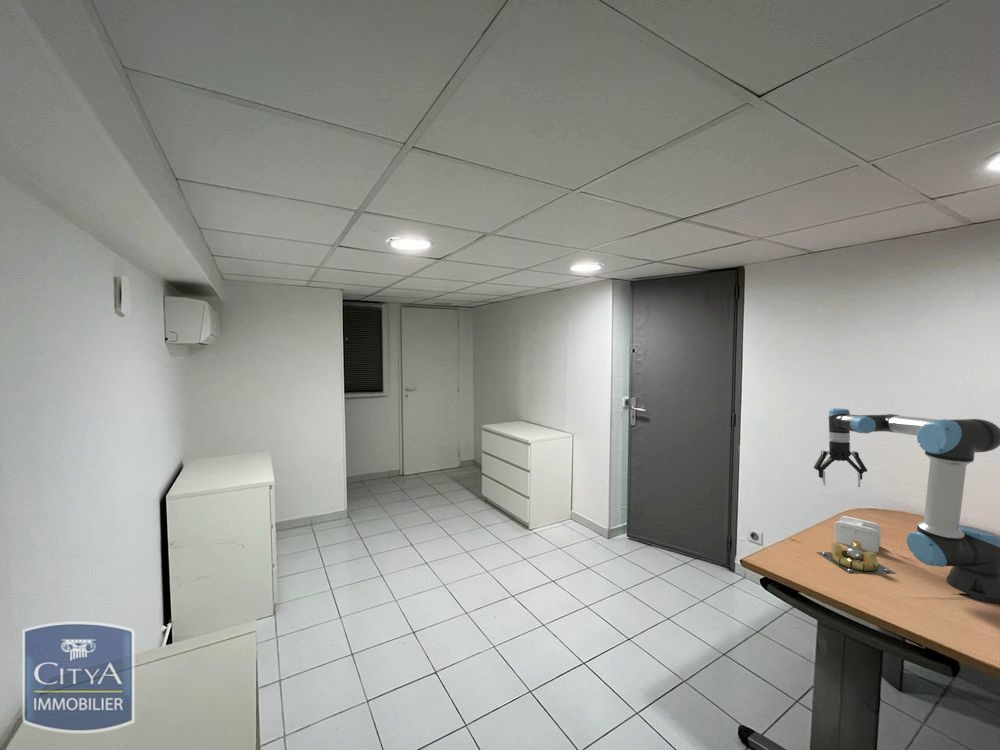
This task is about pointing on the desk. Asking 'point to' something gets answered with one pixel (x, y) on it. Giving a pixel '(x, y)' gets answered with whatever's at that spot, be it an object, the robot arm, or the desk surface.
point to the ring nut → (866, 565)
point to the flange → (855, 555)
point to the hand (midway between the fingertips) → (840, 485)
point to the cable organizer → (858, 533)
